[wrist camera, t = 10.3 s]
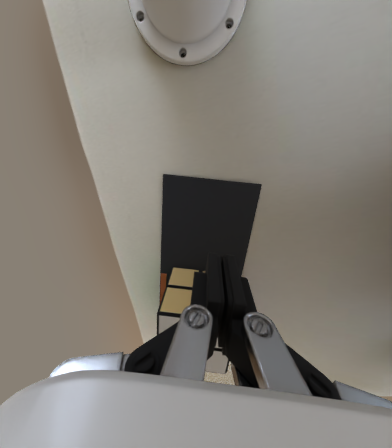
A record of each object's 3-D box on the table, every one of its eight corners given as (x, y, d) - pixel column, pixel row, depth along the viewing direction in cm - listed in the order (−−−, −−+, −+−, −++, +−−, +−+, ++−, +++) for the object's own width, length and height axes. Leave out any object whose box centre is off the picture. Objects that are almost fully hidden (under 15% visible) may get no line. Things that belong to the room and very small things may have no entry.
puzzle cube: (222, 316, 35) (226, 375, 25) (170, 310, 35) (155, 366, 26) (230, 272, 31) (239, 323, 22) (172, 266, 31) (156, 313, 22)
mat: (163, 174, 26) (162, 174, 26) (260, 184, 26) (262, 185, 25) (159, 317, 36) (158, 320, 36) (229, 326, 36) (229, 329, 35)
